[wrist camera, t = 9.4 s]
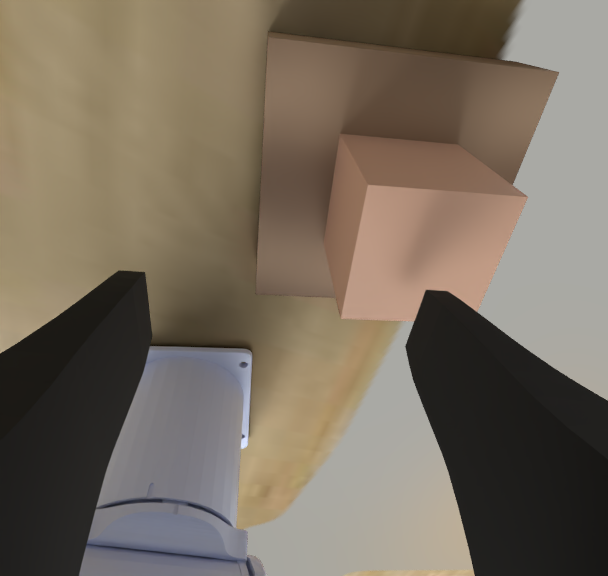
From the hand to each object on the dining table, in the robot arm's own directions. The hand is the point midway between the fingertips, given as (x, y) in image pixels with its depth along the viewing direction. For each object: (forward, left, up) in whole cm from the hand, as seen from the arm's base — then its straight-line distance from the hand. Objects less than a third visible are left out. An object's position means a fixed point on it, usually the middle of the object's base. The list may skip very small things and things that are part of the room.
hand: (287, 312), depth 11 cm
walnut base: (+1, -4, -10) cm, 11 cm away
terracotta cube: (+1, -4, -7) cm, 8 cm away
